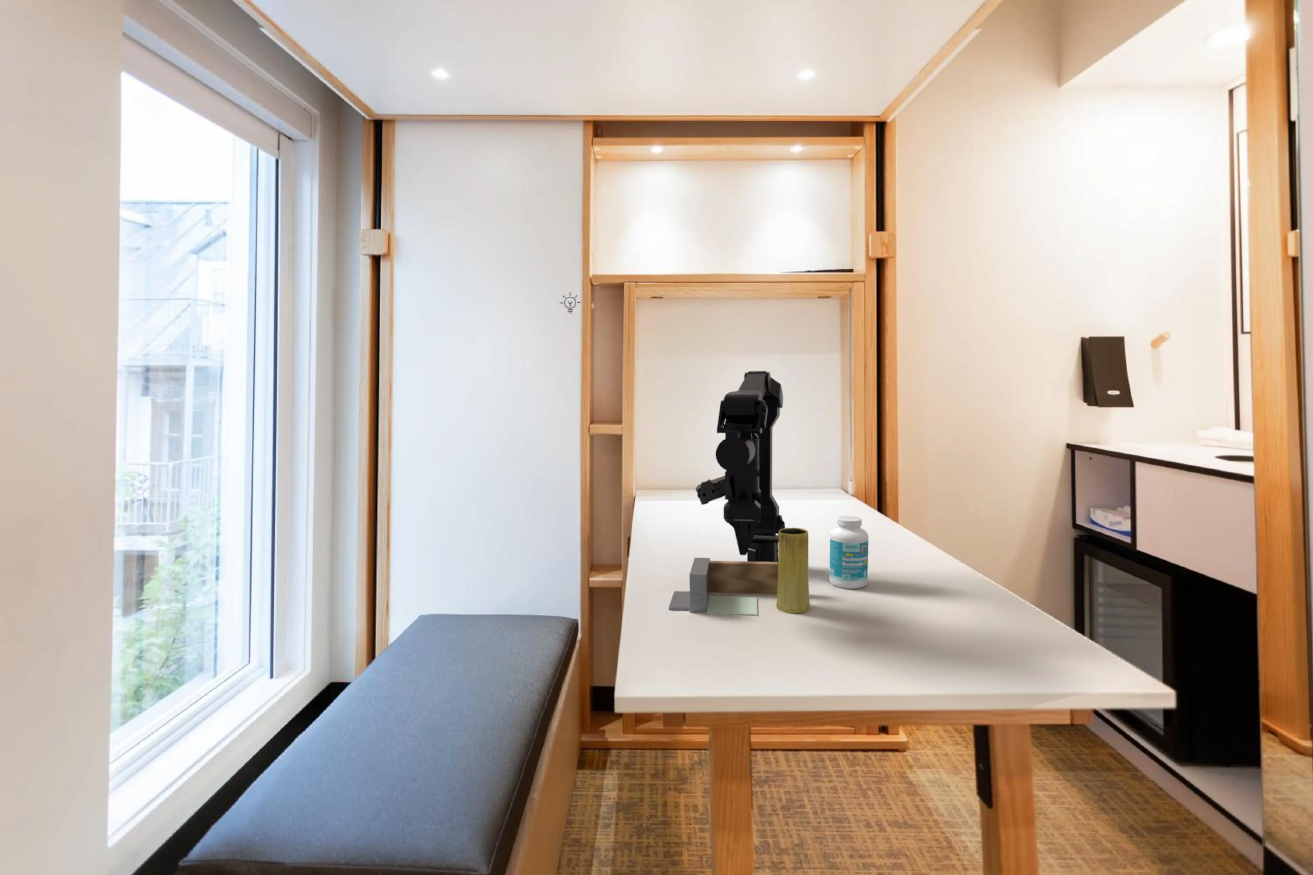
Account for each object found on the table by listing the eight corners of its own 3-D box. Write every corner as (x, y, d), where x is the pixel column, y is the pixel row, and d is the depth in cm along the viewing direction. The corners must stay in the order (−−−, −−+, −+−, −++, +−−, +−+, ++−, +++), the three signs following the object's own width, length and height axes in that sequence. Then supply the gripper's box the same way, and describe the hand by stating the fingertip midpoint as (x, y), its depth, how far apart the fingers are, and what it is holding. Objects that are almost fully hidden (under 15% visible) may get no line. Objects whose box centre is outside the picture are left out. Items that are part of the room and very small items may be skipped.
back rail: (801, 592, 129) (801, 562, 129) (801, 595, 128) (801, 564, 127) (695, 589, 132) (695, 560, 132) (695, 592, 131) (694, 562, 130)
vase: (813, 604, 123) (813, 528, 121) (806, 615, 117) (806, 536, 116) (781, 600, 125) (780, 525, 124) (772, 611, 120) (772, 533, 118)
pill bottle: (843, 591, 129) (844, 523, 128) (822, 581, 136) (822, 516, 135) (875, 587, 132) (876, 520, 131) (853, 576, 139) (853, 512, 137)
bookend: (710, 592, 130) (710, 557, 130) (706, 612, 120) (706, 574, 119) (674, 591, 131) (674, 557, 131) (668, 611, 121) (667, 573, 120)
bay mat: (756, 598, 127) (756, 597, 127) (757, 615, 118) (757, 614, 118) (709, 596, 128) (709, 595, 128) (706, 613, 119) (706, 612, 119)
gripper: (702, 456, 130) (704, 534, 132) (693, 471, 112) (694, 561, 114) (760, 456, 129) (760, 535, 130) (760, 471, 110) (760, 563, 112)
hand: (743, 547), depth 122 cm, fingers open, 9 cm apart
